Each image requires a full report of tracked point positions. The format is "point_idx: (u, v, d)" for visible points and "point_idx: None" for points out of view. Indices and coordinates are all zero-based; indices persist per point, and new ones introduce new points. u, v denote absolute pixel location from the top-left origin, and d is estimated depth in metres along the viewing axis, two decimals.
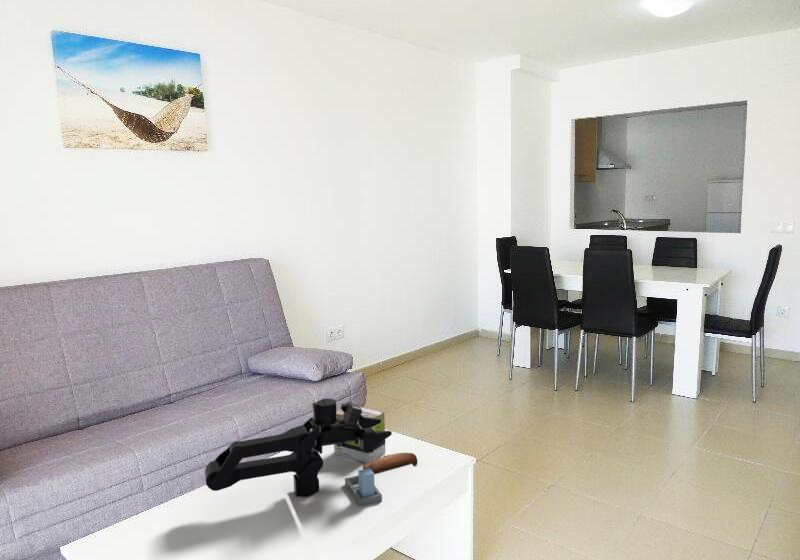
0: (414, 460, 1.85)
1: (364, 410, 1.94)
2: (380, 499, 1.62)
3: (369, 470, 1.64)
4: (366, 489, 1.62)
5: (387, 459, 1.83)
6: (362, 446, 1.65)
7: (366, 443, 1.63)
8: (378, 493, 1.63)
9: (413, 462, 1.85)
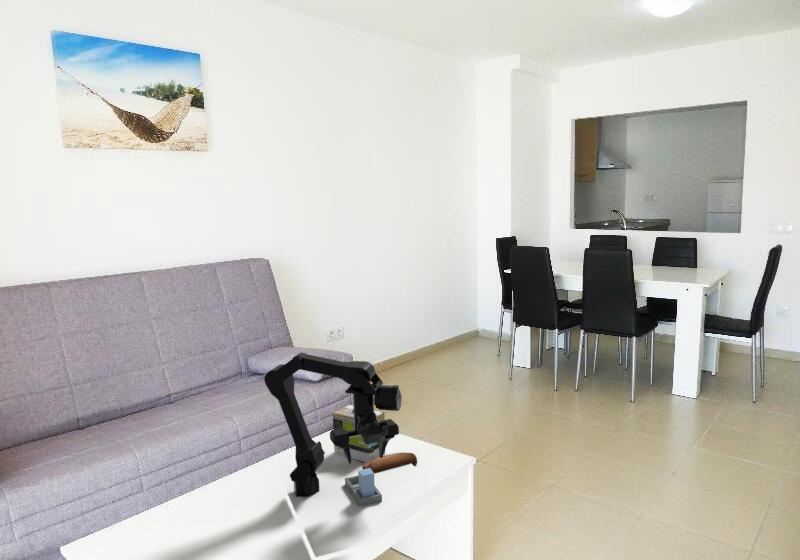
0: (414, 460, 1.86)
1: None
2: (380, 499, 1.62)
3: (369, 470, 1.64)
4: (366, 489, 1.62)
5: (386, 458, 1.83)
6: (335, 430, 1.59)
7: (332, 435, 1.57)
8: (378, 493, 1.63)
9: (413, 462, 1.85)
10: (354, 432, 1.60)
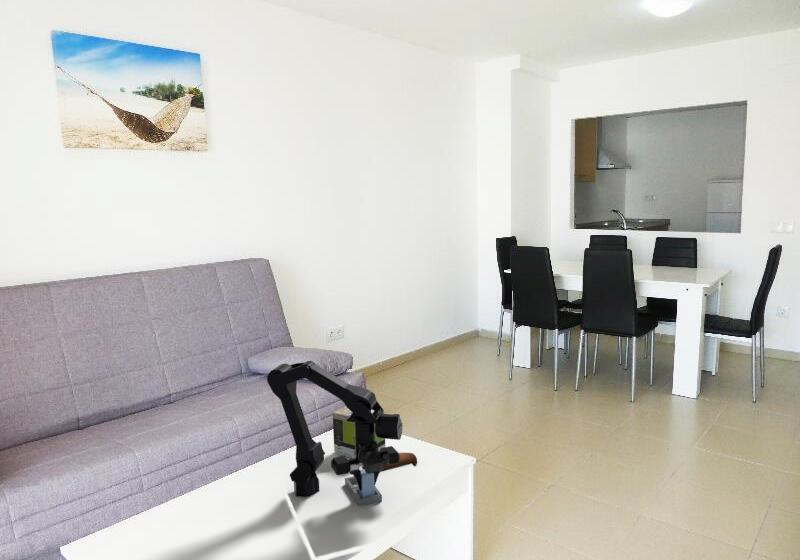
0: (414, 460, 1.85)
1: None
2: (380, 499, 1.62)
3: None
4: (366, 489, 1.62)
5: None
6: (337, 458, 1.60)
7: (333, 464, 1.59)
8: (378, 493, 1.63)
9: (413, 462, 1.85)
10: (355, 460, 1.61)
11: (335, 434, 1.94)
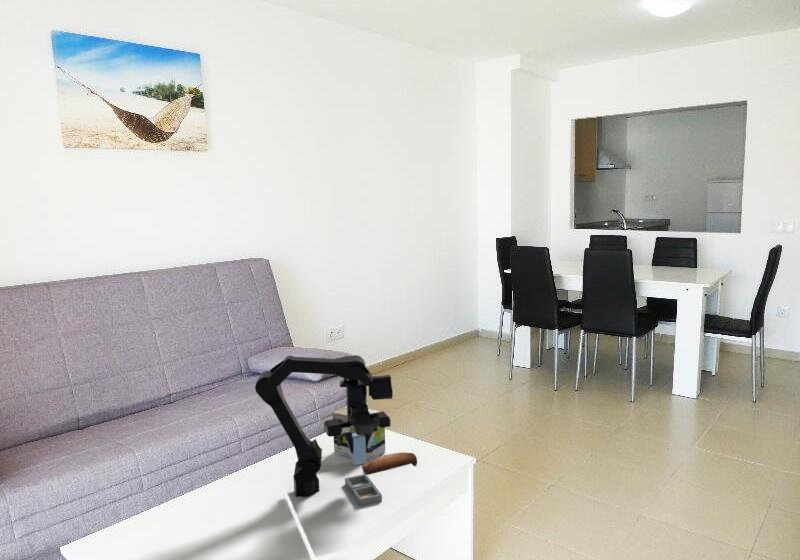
0: (414, 460, 1.86)
1: None
2: (380, 499, 1.62)
3: None
4: (357, 452, 1.67)
5: (386, 458, 1.83)
6: (329, 421, 1.65)
7: (325, 426, 1.64)
8: (378, 493, 1.63)
9: (413, 462, 1.85)
10: (347, 423, 1.66)
11: None
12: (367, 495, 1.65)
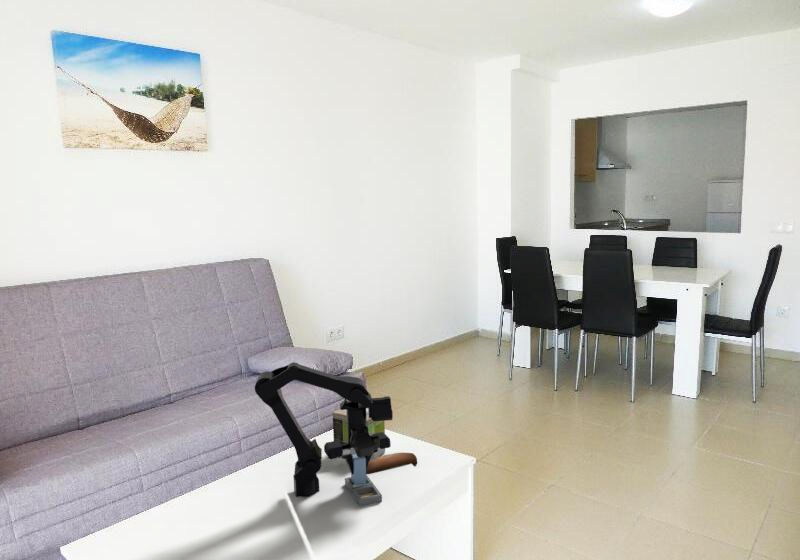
0: (414, 460, 1.85)
1: None
2: (380, 499, 1.62)
3: None
4: (358, 473, 1.68)
5: (386, 458, 1.83)
6: (329, 443, 1.66)
7: (326, 448, 1.65)
8: (378, 493, 1.63)
9: (413, 462, 1.85)
10: (347, 445, 1.67)
11: (335, 434, 1.94)
12: (367, 495, 1.65)
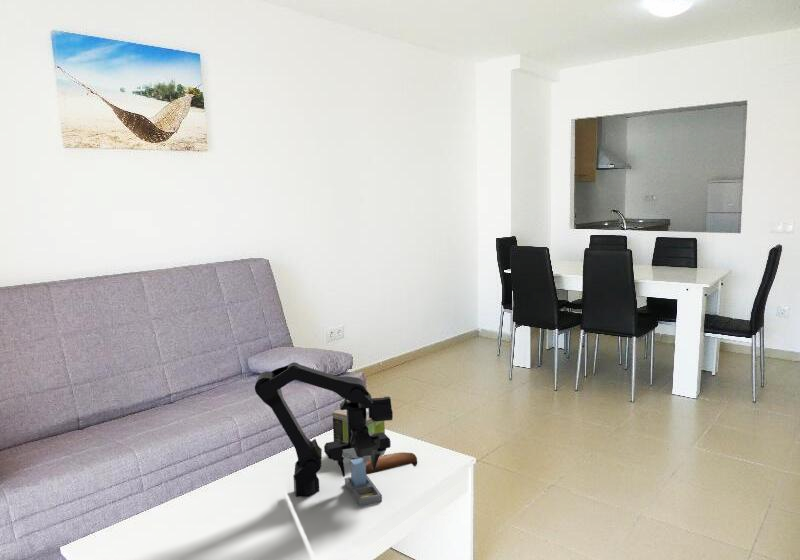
0: (414, 460, 1.85)
1: None
2: (380, 499, 1.62)
3: (361, 460, 1.70)
4: (358, 478, 1.68)
5: (386, 458, 1.83)
6: (329, 443, 1.66)
7: (326, 449, 1.65)
8: (378, 493, 1.63)
9: (413, 462, 1.85)
10: (347, 445, 1.67)
11: (335, 434, 1.94)
12: (367, 495, 1.65)
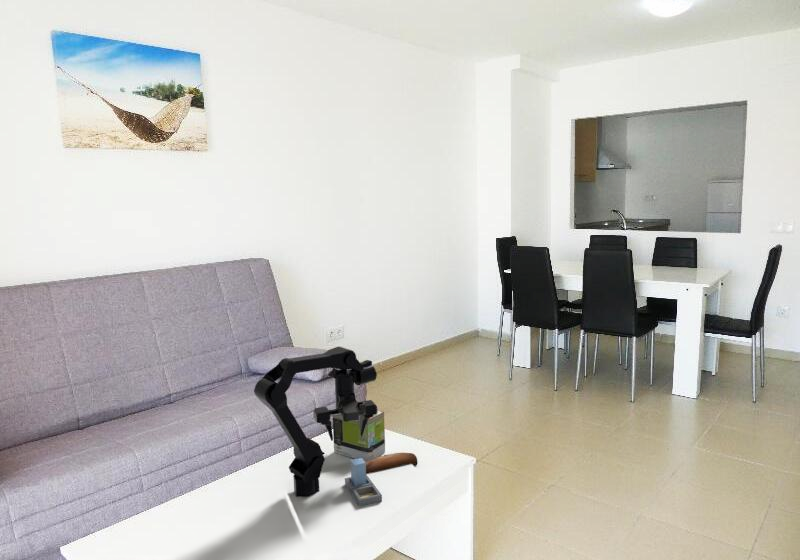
0: (414, 460, 1.85)
1: None
2: (380, 499, 1.62)
3: (361, 460, 1.70)
4: (358, 478, 1.68)
5: (386, 458, 1.83)
6: (318, 408, 1.73)
7: (315, 413, 1.72)
8: (378, 493, 1.63)
9: (413, 462, 1.85)
10: (335, 411, 1.74)
11: (335, 433, 1.94)
12: (367, 495, 1.65)
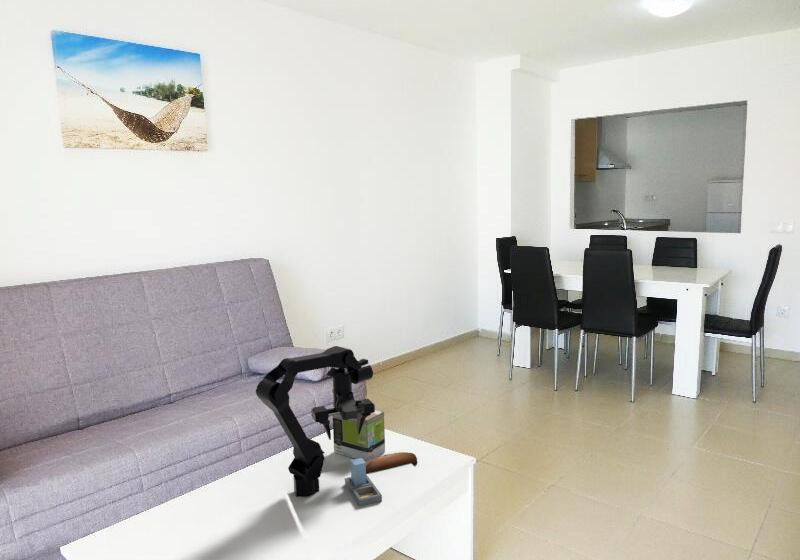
0: (414, 460, 1.86)
1: None
2: (380, 499, 1.62)
3: (361, 460, 1.70)
4: (358, 478, 1.68)
5: (386, 458, 1.83)
6: (316, 408, 1.74)
7: (313, 412, 1.72)
8: (378, 493, 1.63)
9: (413, 462, 1.85)
10: (333, 410, 1.75)
11: (335, 433, 1.94)
12: (367, 495, 1.65)
